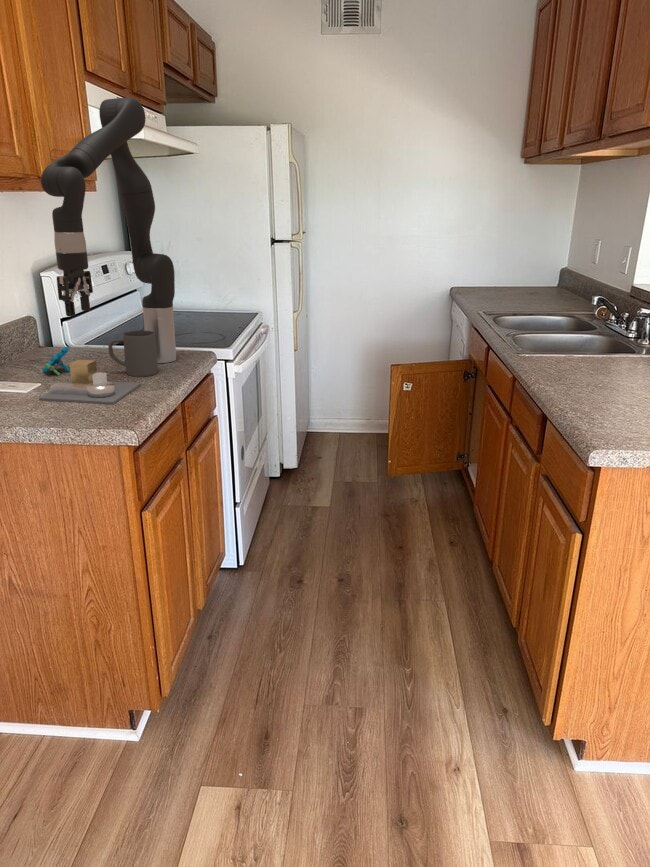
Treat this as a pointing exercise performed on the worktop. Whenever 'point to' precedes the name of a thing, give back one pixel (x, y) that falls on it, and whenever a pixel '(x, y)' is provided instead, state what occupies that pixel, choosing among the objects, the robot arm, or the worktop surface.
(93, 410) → the worktop surface
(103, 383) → the ratchet
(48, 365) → the blue toy piece
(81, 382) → the wooden toy cube
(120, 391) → the mat
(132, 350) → the mug
